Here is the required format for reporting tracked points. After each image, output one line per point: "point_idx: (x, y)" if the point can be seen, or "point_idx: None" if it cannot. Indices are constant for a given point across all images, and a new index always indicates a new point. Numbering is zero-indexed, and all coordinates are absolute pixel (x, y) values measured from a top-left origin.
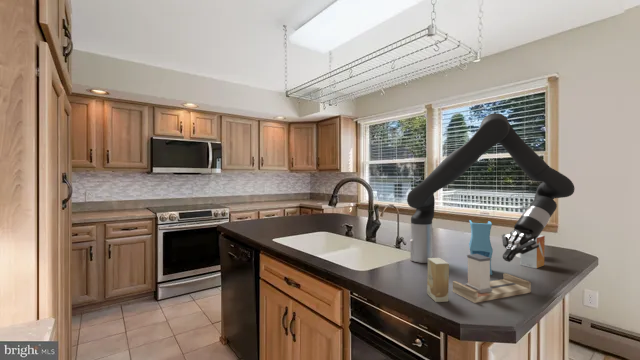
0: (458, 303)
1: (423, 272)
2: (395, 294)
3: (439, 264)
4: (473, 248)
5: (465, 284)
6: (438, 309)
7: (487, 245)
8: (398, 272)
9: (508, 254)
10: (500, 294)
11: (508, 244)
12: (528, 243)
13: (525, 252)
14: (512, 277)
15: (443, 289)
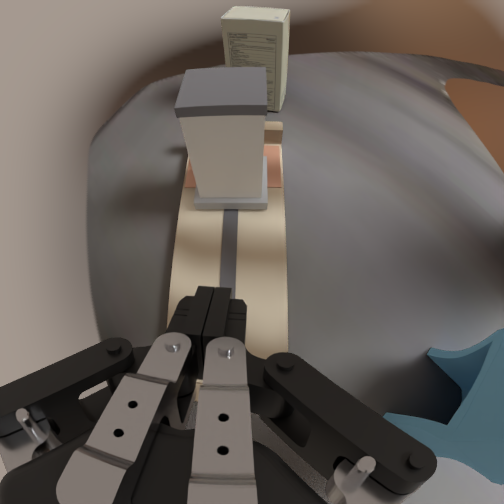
0: None
1: (443, 184)
2: (303, 58)
3: (230, 9)
4: (499, 342)
5: (265, 157)
6: None
7: (485, 418)
8: (439, 131)
9: (192, 302)
10: (178, 231)
11: (245, 374)
12: (28, 390)
13: (104, 395)
14: None
15: None
